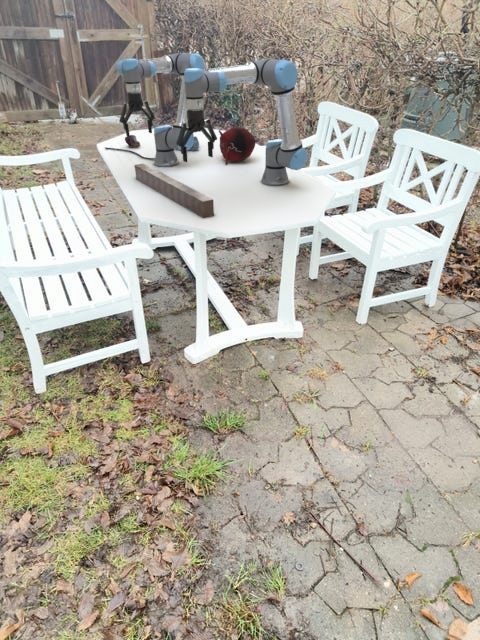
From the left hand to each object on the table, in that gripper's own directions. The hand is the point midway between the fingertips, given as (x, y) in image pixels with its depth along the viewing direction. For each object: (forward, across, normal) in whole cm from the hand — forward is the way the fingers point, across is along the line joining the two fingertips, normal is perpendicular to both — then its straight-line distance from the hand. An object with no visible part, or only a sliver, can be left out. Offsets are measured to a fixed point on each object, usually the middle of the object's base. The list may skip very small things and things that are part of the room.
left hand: (139, 134), depth 251 cm
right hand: (0, 0, -64) cm, 64 cm away
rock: (+26, +28, +79) cm, 88 cm away
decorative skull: (+26, +69, +4) cm, 74 cm away
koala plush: (+26, +57, +50) cm, 81 cm away
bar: (+26, 0, -32) cm, 41 cm away
